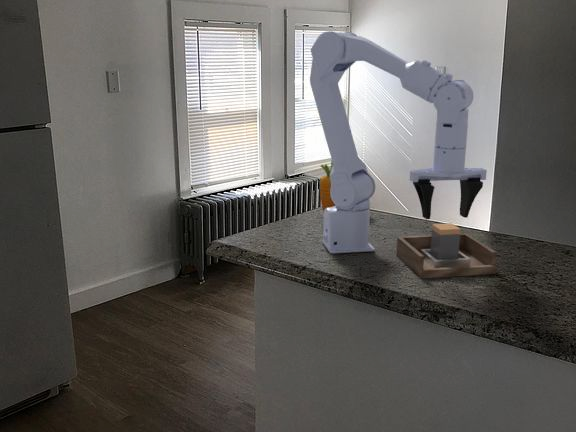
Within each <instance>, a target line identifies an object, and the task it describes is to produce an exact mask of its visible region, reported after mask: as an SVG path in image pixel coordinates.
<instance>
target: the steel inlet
mask: <svg viewBox="0 0 576 432" xmlns="http://www.w3.org/2000/svg"><path fill="white" fill-rule="evenodd" d="M430 252H431V249H421V251H420V253H421V254H422V255H423V256H424V260H425V261H426V262H427V263H428V264H429V265H431V266H432V267H433V268H448V267H464V266H470V263H471V259H470V258H469V257H467V256H466V255H464V254H463V253H462V252H460V251H459V255H458V259H445V260H436V259H435V258H434V257H432V256H431V255H430Z"/></svg>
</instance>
